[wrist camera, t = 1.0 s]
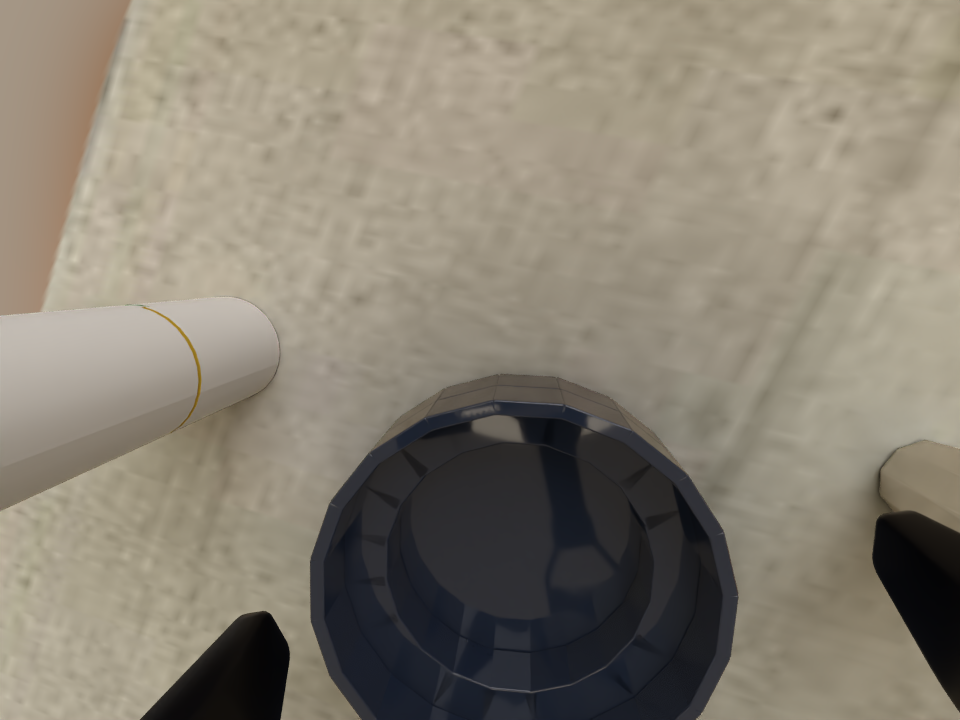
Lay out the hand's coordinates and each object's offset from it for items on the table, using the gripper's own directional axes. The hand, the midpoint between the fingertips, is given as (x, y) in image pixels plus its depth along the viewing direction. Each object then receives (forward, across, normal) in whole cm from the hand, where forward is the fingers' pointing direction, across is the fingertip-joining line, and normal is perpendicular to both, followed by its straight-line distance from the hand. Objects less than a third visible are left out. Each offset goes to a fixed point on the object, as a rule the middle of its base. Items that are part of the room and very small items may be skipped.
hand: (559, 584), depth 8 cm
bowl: (+12, +2, +10) cm, 16 cm away
